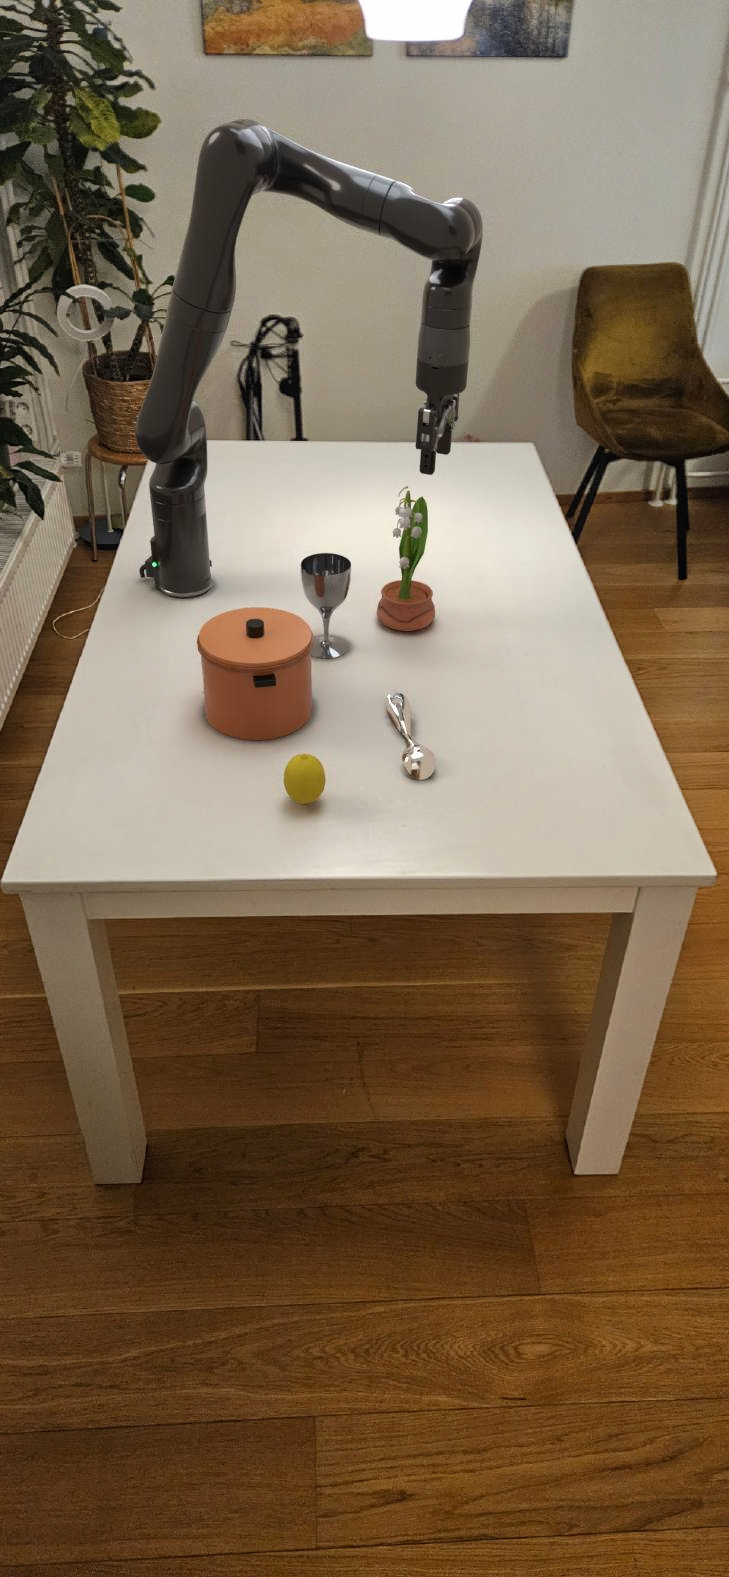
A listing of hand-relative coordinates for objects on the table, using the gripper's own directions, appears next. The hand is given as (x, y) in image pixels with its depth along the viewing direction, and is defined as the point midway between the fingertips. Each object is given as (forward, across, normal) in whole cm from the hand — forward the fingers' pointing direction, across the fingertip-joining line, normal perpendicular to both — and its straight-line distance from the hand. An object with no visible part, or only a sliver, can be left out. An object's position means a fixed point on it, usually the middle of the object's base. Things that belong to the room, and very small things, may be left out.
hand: (434, 463), depth 169 cm
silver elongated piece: (+28, +33, +8) cm, 44 cm away
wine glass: (+29, +12, -13) cm, 34 cm away
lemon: (+28, +52, -1) cm, 59 cm away
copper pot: (+29, +34, -16) cm, 47 cm away
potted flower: (+29, 0, -3) cm, 29 cm away
